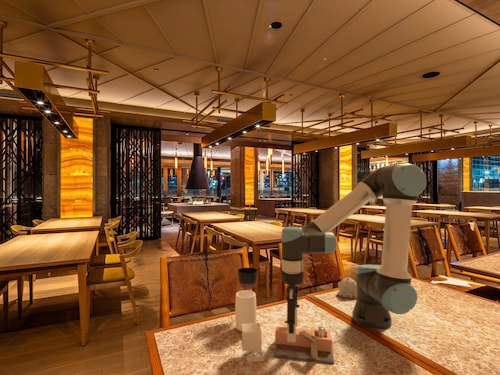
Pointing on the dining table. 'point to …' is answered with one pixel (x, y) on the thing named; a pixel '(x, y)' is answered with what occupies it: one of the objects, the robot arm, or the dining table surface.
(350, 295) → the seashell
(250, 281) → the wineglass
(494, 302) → the dining table surface
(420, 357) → the dining table surface
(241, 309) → the cup
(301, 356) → the base
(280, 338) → the link
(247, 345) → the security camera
